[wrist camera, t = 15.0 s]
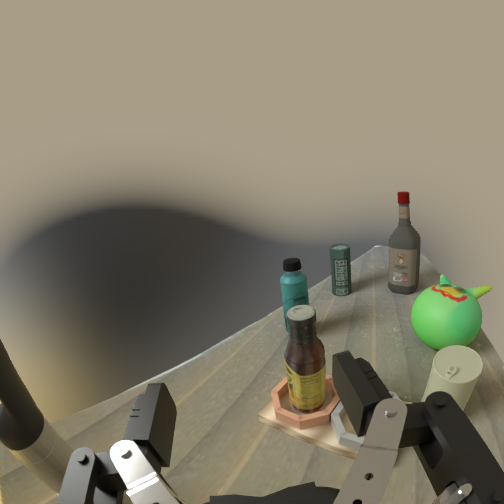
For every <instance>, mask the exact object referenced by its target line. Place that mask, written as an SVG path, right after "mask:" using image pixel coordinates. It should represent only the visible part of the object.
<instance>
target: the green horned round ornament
mask: <svg viewBox="0 0 504 504" xmlns="http://www.w3.org/2000/svg"><path fill="white" fill-rule="evenodd" d="M491 289H492V287H491V286H482V287H476V288H469V289H464V288H462V287H459V286H457V285H452V284H451V282H450V281H449V280H448V278H447V277H446V276H445V275H441V276H440V284H437V285H433V286H431V287H429V288H427V289H425V290H424V291H423V292H422V293H421V294H420V295H419V296H418V298H417V299H416V301H415V303H414V305H413V308H412V313H411V321H412V326H413V329H414V331H415V333H416V334H417V336H418V337H419V338H420V339H421V340H422V341H423V342H424V343H425V344H426V345H428V346H429V347H431V348H434V349H436V350H441V349H443V348H445V347H447V346H452V345H461V346H468V345H469V344H470V343H471V342H472V341H473V340H474V339H475V337H476V336H477V334H478V332H479V330H480V327H481V323H482V312H481V308H480V305H479V303H478V301H477V299H478V298H479V297H481V296H482V295H484V294H486V293H487V292H489V291H490V290H491Z"/></svg>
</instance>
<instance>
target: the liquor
mask: <svg viewBox="0 0 504 504" xmlns="http://www.w3.org/2000/svg"><path fill="white" fill-rule="evenodd" d="M398 203H399V223H398V224H399V225H398V227H397V228H396V230H395V231H394V232H393V234H392V235H391V236H390V238H389V282H388V287H389V289H390V290H391V291H392V292H395V293H400V294H406V295H407V294H411V293H414V291H415V289H416V287H417V285H418V281H419V266H420V236H419V234H418V233H417V231H416V230H415V229H414V228H413V227H412V225H411V222H410V212H409V203H410V201H409V192H398Z"/></svg>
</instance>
